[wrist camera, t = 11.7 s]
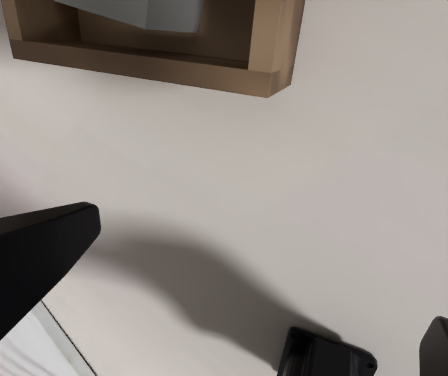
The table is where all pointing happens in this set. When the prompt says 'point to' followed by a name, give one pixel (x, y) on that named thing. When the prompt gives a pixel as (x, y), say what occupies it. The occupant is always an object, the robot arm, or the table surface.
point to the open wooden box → (167, 44)
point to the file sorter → (40, 349)
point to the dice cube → (147, 12)
